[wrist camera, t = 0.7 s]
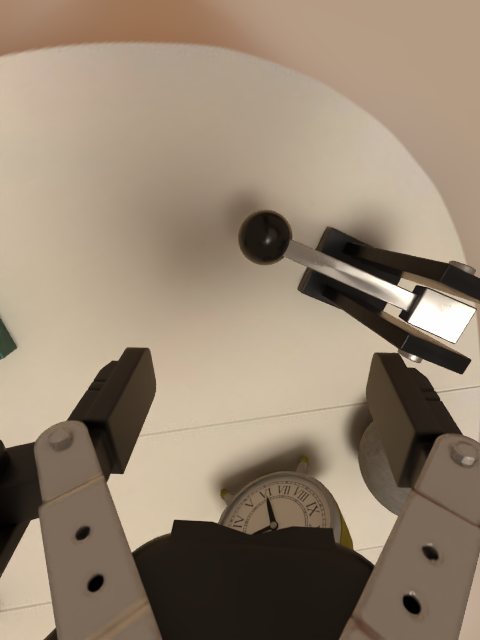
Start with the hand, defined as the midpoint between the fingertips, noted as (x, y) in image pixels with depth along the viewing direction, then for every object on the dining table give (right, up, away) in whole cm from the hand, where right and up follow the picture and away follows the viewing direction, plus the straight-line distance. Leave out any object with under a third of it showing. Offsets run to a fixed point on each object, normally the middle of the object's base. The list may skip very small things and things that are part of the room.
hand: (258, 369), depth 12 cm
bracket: (+9, +6, +19) cm, 22 cm away
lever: (+6, +5, +10) cm, 13 cm away
